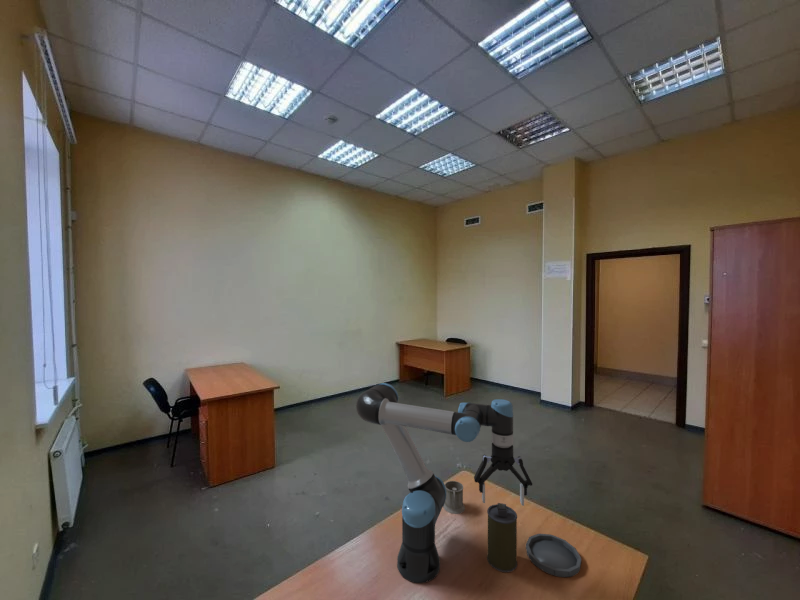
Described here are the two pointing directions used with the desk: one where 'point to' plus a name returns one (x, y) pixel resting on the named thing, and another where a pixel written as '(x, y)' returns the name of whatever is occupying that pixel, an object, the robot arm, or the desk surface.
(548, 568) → the round tray
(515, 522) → the canister
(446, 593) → the desk surface
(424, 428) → the robot arm
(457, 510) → the mug
